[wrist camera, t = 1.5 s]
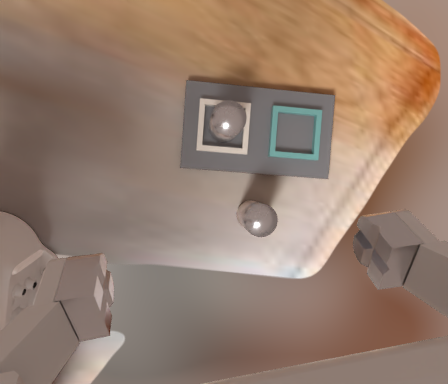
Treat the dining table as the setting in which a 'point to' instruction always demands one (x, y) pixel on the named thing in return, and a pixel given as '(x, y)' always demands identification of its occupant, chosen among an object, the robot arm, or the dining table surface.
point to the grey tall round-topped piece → (227, 121)
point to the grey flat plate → (260, 131)
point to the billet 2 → (257, 218)
